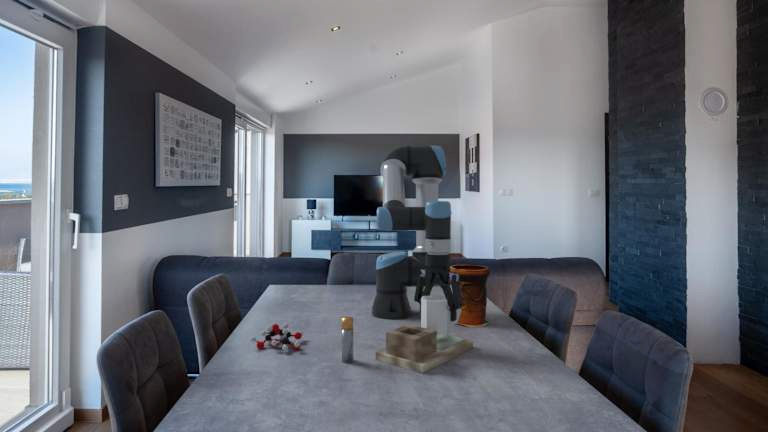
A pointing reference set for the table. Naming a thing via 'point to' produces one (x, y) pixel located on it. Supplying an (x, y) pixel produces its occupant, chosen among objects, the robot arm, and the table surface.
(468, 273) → the vessel
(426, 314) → the mug
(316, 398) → the table surface
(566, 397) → the table surface
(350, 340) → the cylindrical pin
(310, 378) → the table surface
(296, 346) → the molecular model
